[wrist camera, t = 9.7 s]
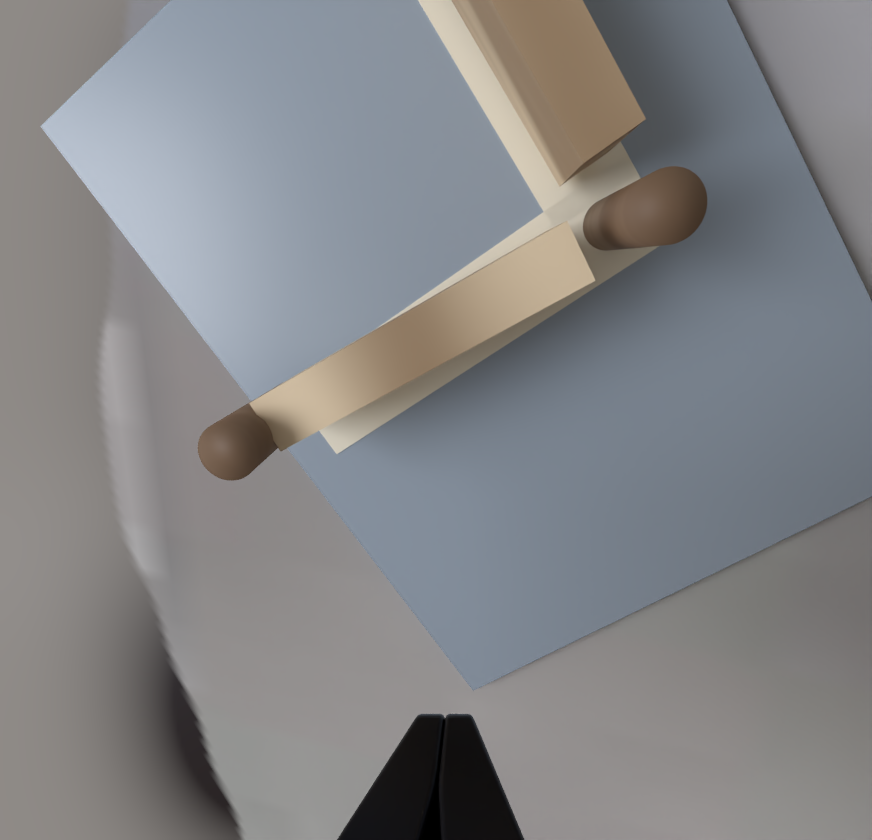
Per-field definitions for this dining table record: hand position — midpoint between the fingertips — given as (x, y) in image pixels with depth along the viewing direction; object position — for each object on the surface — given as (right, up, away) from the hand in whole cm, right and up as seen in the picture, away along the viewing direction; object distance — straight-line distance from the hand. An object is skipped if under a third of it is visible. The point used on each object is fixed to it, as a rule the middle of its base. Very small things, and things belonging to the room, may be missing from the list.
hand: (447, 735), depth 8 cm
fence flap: (-1, +7, +8) cm, 11 cm away
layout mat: (+2, +9, +8) cm, 12 cm away
